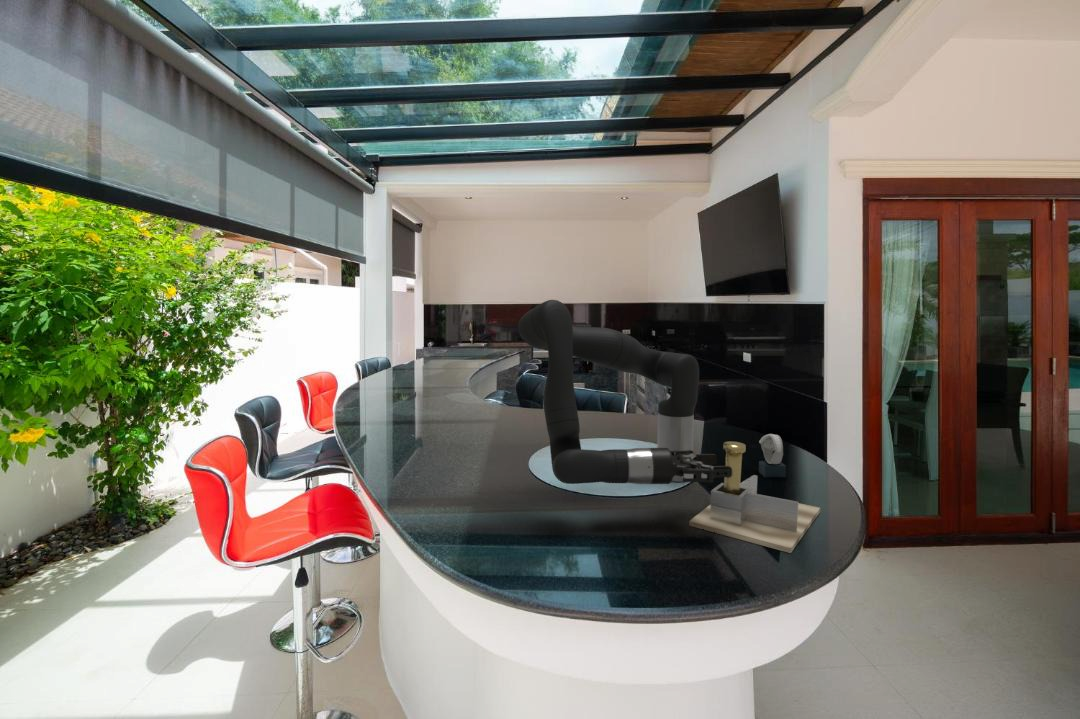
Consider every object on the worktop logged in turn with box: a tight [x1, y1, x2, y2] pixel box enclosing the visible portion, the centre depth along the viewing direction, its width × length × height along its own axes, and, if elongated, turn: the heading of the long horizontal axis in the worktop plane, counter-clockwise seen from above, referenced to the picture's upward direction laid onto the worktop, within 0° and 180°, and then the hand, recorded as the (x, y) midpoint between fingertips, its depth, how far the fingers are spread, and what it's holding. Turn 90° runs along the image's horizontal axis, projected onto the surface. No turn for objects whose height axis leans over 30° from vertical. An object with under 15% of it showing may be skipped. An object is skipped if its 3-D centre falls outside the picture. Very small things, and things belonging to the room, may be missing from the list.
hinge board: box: [688, 502, 821, 554], centre depth 117 cm, size 25×20×1 cm
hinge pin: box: [722, 441, 747, 496], centre depth 114 cm, size 4×4×16 cm
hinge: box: [709, 474, 799, 532], centre depth 116 cm, size 16×16×6 cm
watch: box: [758, 433, 787, 478], centre depth 146 cm, size 6×8×11 cm
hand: (723, 465), depth 114 cm, fingers open, 8 cm apart
